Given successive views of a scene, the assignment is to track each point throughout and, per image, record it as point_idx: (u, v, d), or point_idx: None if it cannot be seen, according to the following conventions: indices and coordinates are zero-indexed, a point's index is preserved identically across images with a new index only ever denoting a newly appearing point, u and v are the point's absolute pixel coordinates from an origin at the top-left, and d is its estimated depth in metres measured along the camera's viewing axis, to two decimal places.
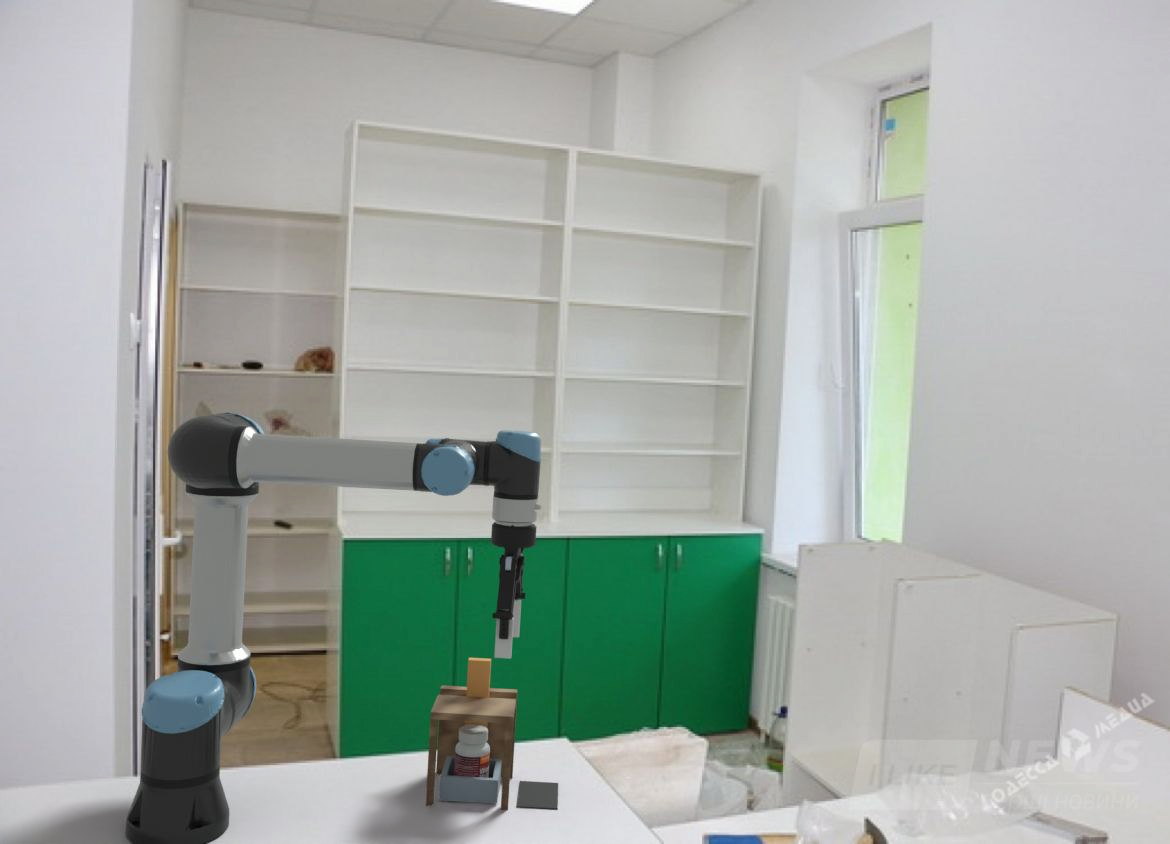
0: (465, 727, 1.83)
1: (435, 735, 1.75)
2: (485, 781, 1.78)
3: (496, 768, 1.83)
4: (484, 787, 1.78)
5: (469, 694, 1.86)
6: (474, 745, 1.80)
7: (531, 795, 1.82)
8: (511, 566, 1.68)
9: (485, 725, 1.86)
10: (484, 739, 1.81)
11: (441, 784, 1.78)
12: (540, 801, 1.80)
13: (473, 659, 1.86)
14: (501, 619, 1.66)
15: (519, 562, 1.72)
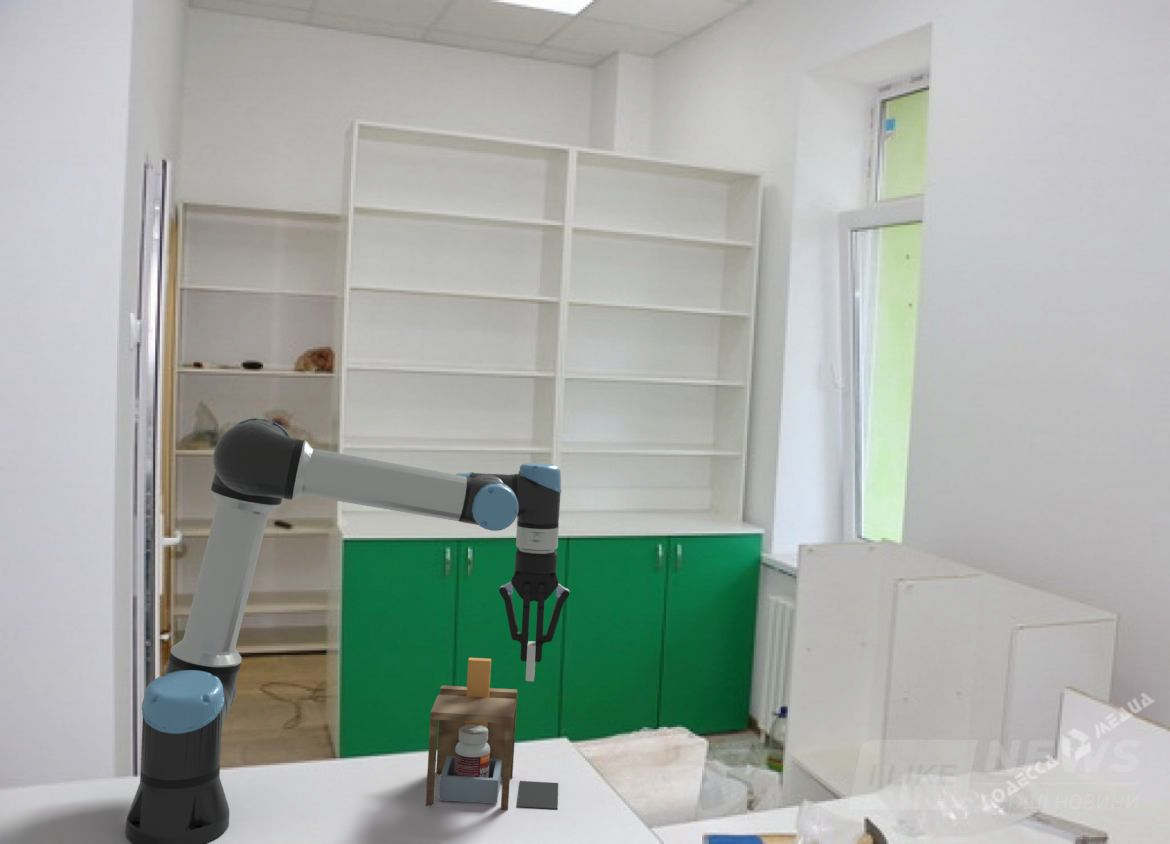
0: (465, 727, 1.83)
1: (435, 735, 1.75)
2: (485, 781, 1.78)
3: (496, 768, 1.83)
4: (484, 787, 1.78)
5: (469, 694, 1.86)
6: (474, 745, 1.80)
7: (531, 795, 1.82)
8: None
9: (485, 725, 1.86)
10: (484, 739, 1.81)
11: (441, 784, 1.78)
12: (540, 801, 1.80)
13: (473, 659, 1.86)
14: None
15: (523, 588, 1.84)
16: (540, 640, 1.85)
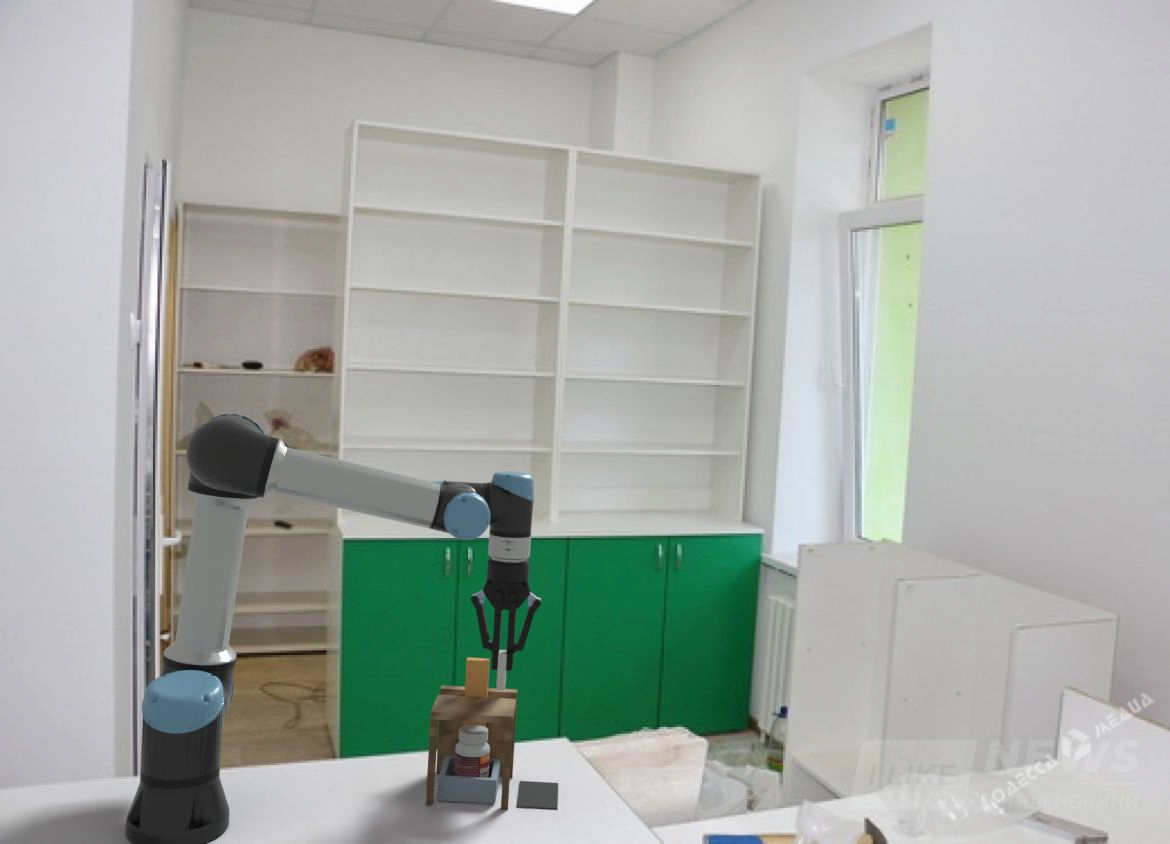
0: (465, 727, 1.83)
1: (435, 735, 1.75)
2: (483, 781, 1.78)
3: (494, 768, 1.83)
4: (482, 787, 1.78)
5: (467, 694, 1.86)
6: (474, 745, 1.80)
7: (531, 795, 1.82)
8: None
9: (483, 725, 1.86)
10: (484, 739, 1.81)
11: (439, 784, 1.78)
12: (540, 801, 1.80)
13: (471, 659, 1.86)
14: None
15: None
16: (511, 649, 1.85)
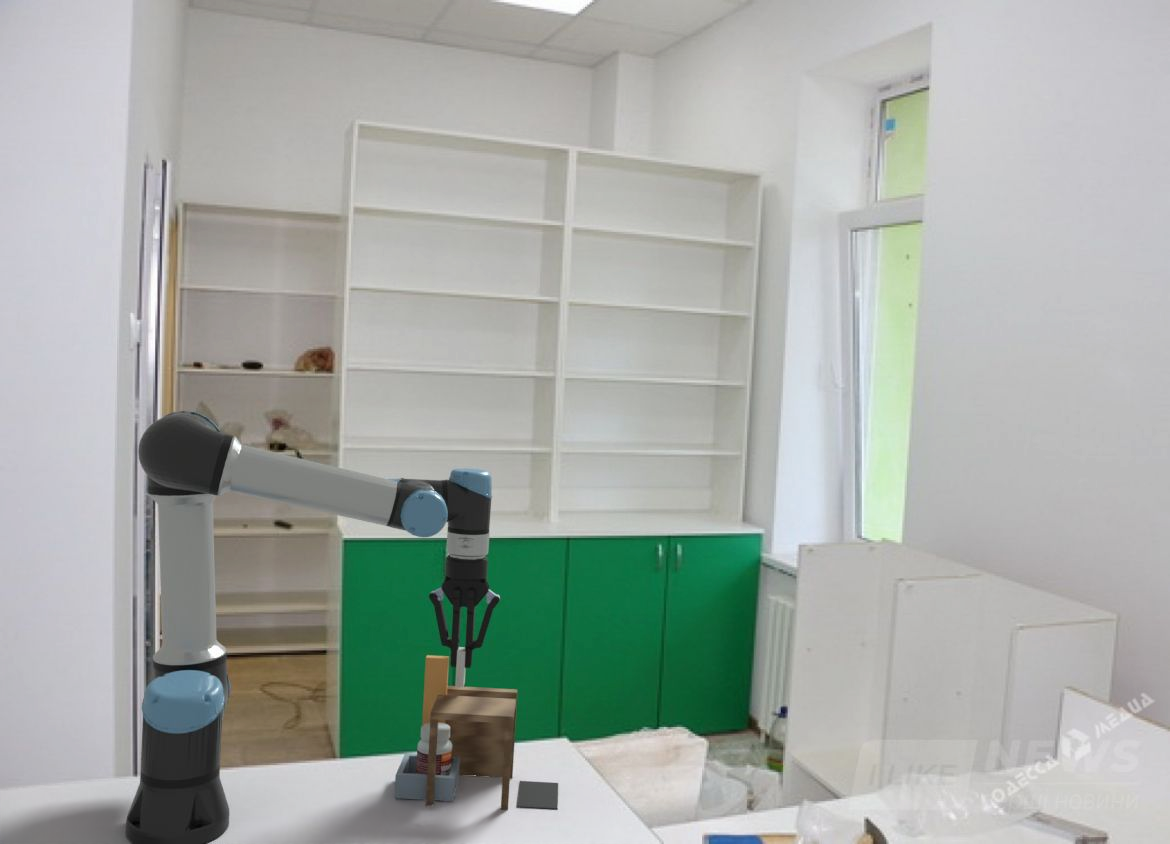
0: (427, 725, 1.83)
1: (435, 735, 1.75)
2: (441, 779, 1.77)
3: (453, 766, 1.83)
4: (440, 785, 1.78)
5: (427, 692, 1.86)
6: None
7: (531, 795, 1.82)
8: None
9: None
10: (446, 737, 1.81)
11: (397, 782, 1.77)
12: (540, 801, 1.80)
13: (431, 657, 1.86)
14: None
15: (453, 594, 1.84)
16: (470, 646, 1.85)
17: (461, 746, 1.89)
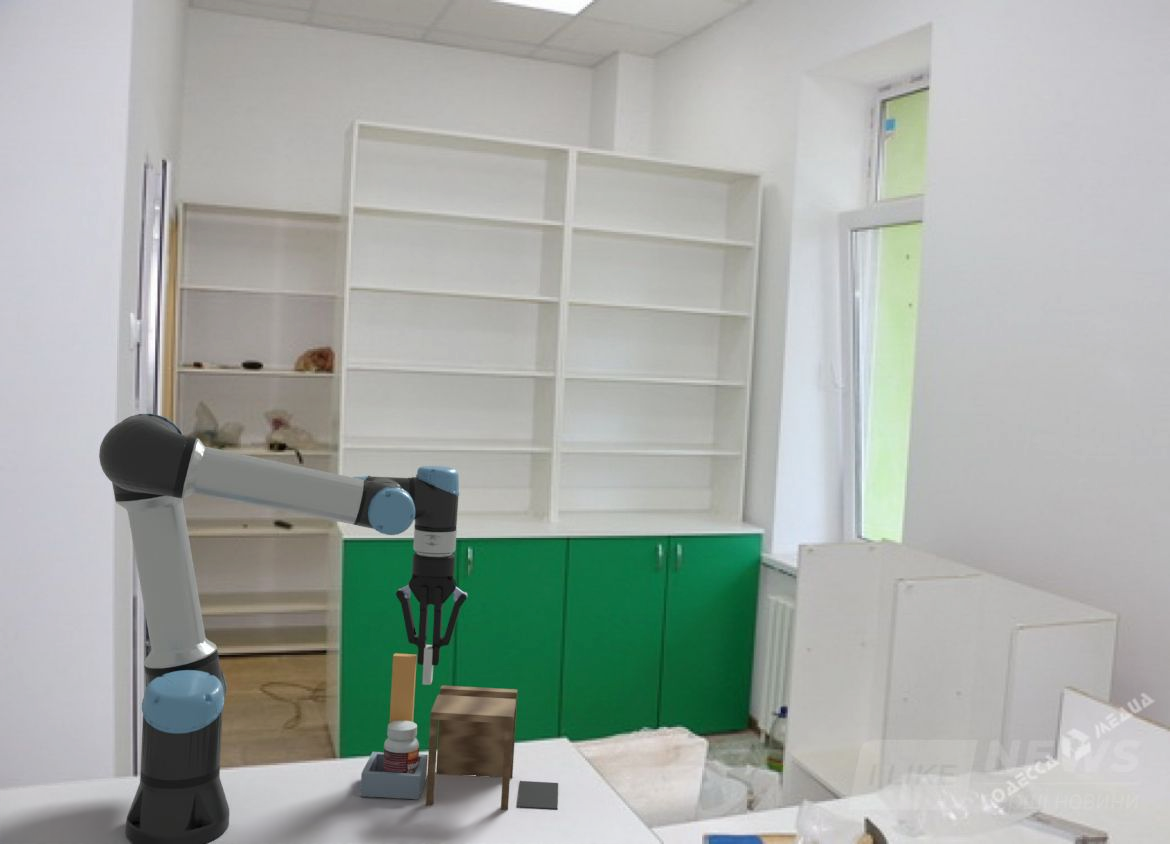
0: (394, 723, 1.83)
1: (435, 735, 1.75)
2: (407, 777, 1.77)
3: (420, 764, 1.83)
4: (406, 783, 1.77)
5: (394, 690, 1.85)
6: (402, 741, 1.80)
7: (531, 795, 1.82)
8: None
9: None
10: (412, 735, 1.80)
11: (362, 780, 1.77)
12: (540, 801, 1.80)
13: (398, 655, 1.86)
14: None
15: None
16: (437, 643, 1.85)
17: (461, 746, 1.89)
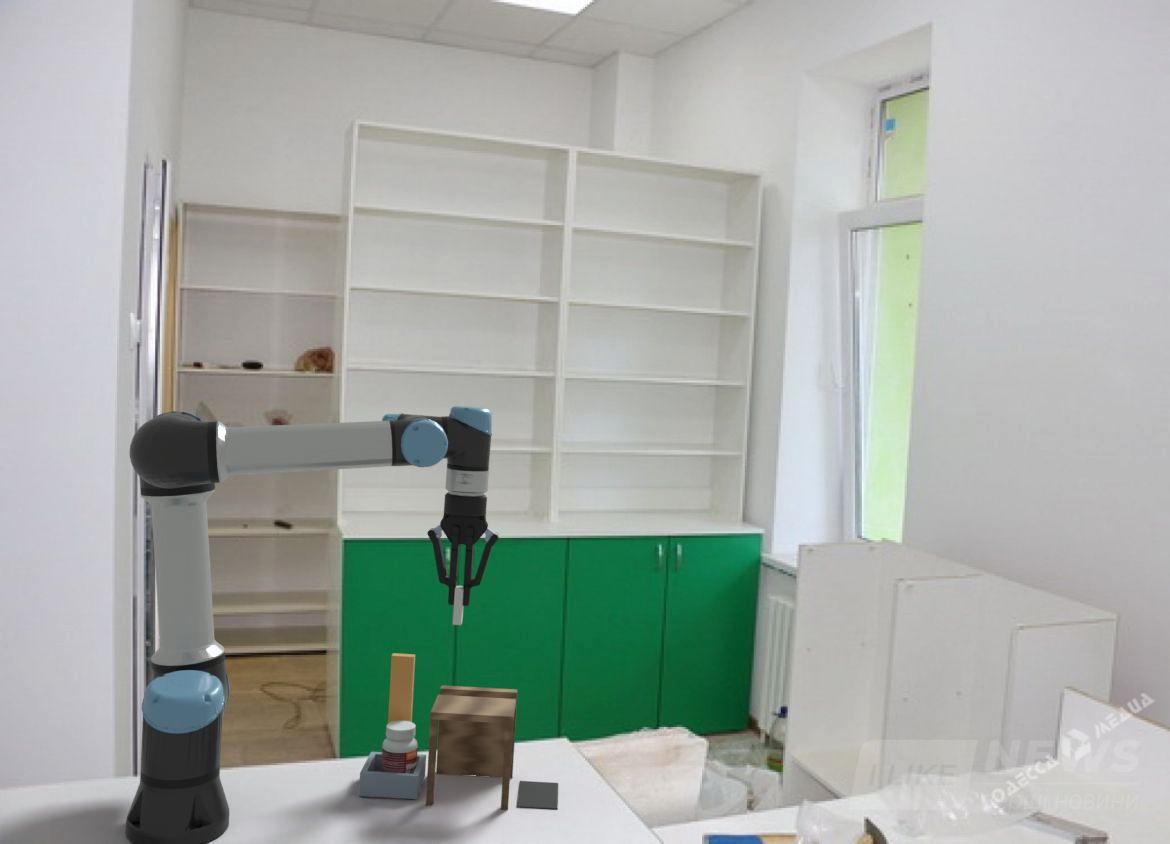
0: (393, 723, 1.83)
1: (435, 735, 1.75)
2: (405, 777, 1.77)
3: (418, 764, 1.83)
4: (404, 783, 1.77)
5: (393, 690, 1.85)
6: (400, 741, 1.80)
7: (531, 795, 1.82)
8: None
9: (409, 721, 1.86)
10: (411, 735, 1.80)
11: (361, 780, 1.77)
12: (540, 801, 1.80)
13: (397, 655, 1.86)
14: None
15: (452, 531, 1.84)
16: (468, 584, 1.84)
17: (461, 746, 1.89)
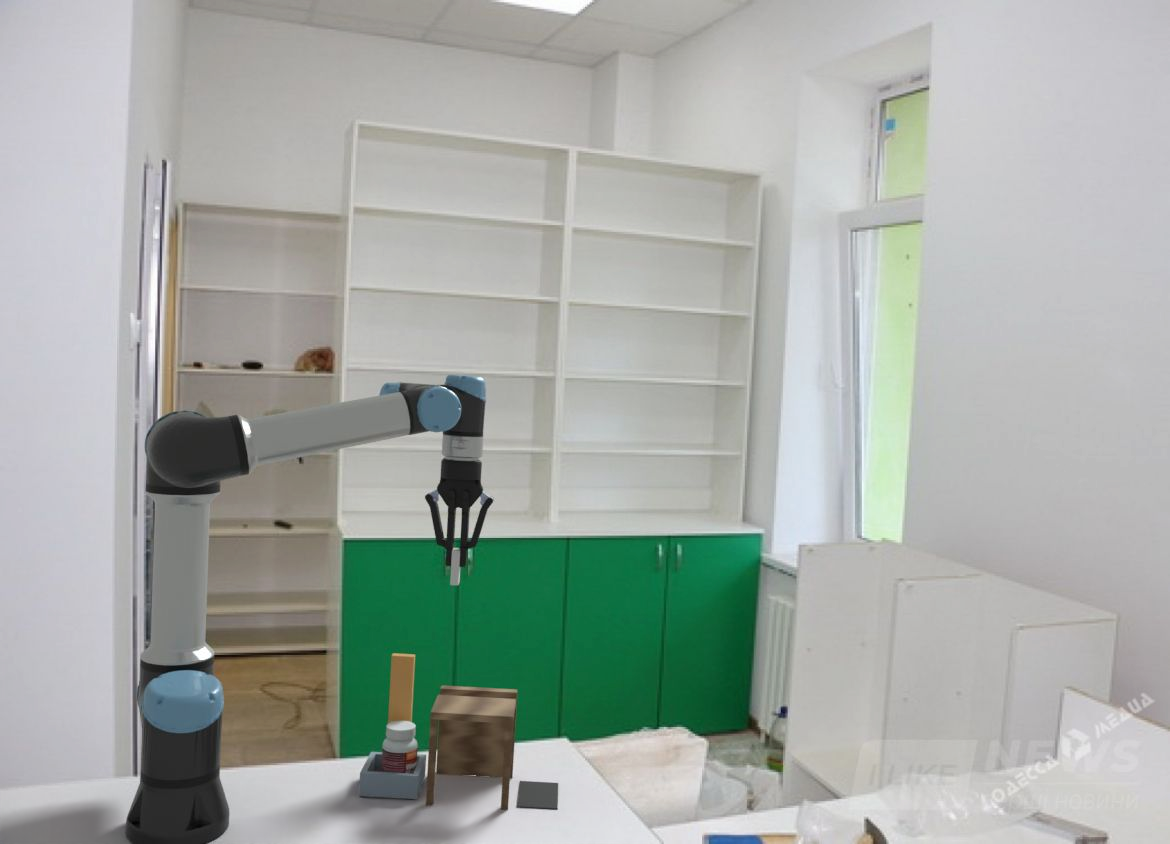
0: (393, 723, 1.83)
1: (435, 735, 1.75)
2: (405, 777, 1.77)
3: (418, 764, 1.83)
4: (404, 783, 1.77)
5: (393, 690, 1.85)
6: (400, 741, 1.80)
7: (531, 795, 1.82)
8: None
9: (409, 721, 1.86)
10: (411, 735, 1.80)
11: (361, 780, 1.77)
12: (540, 801, 1.80)
13: (397, 655, 1.86)
14: None
15: (448, 495, 1.91)
16: (464, 545, 1.91)
17: (461, 746, 1.89)
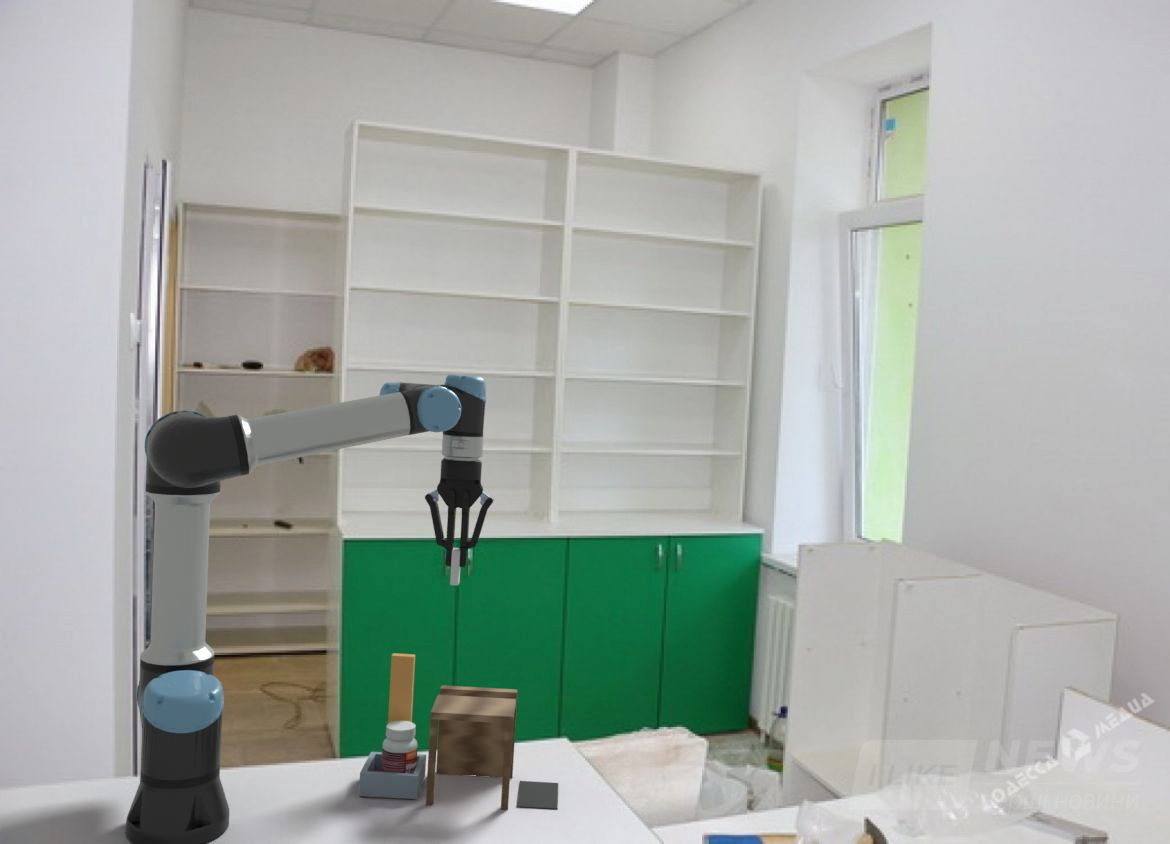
0: (393, 723, 1.83)
1: (435, 735, 1.75)
2: (405, 777, 1.77)
3: (418, 764, 1.83)
4: (404, 783, 1.77)
5: (393, 690, 1.85)
6: (400, 741, 1.80)
7: (531, 795, 1.82)
8: None
9: (409, 721, 1.86)
10: (411, 735, 1.80)
11: (361, 780, 1.77)
12: (540, 801, 1.80)
13: (397, 655, 1.86)
14: None
15: (448, 495, 1.91)
16: (464, 545, 1.91)
17: (461, 746, 1.89)
